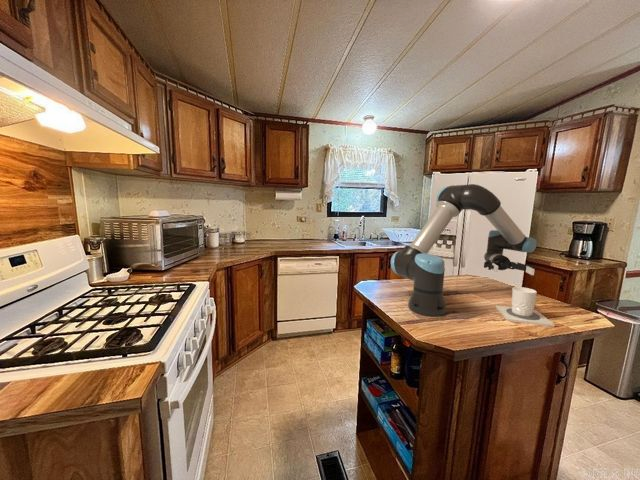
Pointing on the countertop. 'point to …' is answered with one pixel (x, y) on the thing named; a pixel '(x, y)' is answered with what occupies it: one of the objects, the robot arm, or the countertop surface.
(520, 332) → the countertop surface
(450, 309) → the countertop surface
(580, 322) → the countertop surface
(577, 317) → the countertop surface
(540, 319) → the trivet
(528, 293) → the white cup
